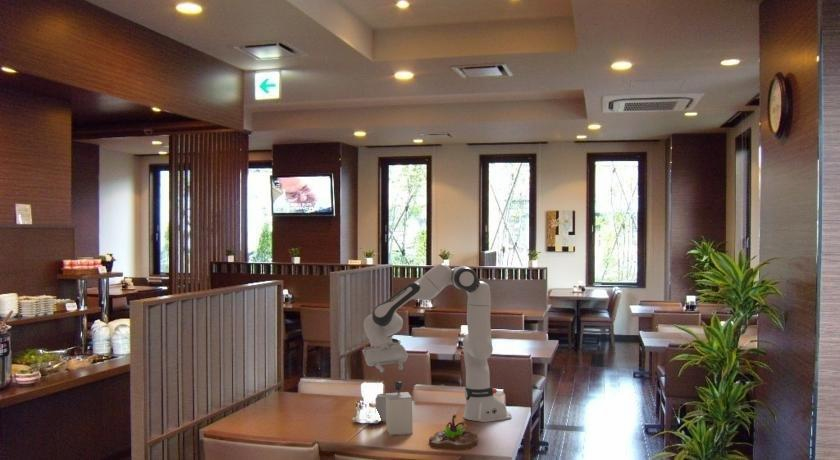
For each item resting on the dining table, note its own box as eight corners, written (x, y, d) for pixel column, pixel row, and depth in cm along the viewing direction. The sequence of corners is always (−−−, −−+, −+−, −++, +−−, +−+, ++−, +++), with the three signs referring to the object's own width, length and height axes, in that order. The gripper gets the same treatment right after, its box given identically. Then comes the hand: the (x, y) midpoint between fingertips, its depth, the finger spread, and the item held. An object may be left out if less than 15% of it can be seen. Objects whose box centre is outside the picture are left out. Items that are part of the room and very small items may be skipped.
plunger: (406, 426, 305) (405, 379, 305) (409, 431, 297) (409, 383, 297) (388, 428, 303) (388, 380, 303) (391, 433, 295) (390, 384, 295)
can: (389, 422, 314) (389, 396, 315) (374, 422, 316) (373, 396, 316) (393, 418, 322) (393, 393, 322) (378, 417, 323) (377, 392, 323)
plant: (482, 437, 291) (482, 411, 291) (472, 451, 272) (471, 423, 272) (437, 434, 297) (437, 408, 297) (424, 448, 278) (423, 420, 278)
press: (408, 427, 306) (407, 392, 306) (412, 434, 296) (412, 397, 296) (386, 429, 304) (385, 393, 304) (389, 435, 294) (389, 398, 294)
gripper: (363, 343, 306) (373, 369, 298) (402, 339, 317) (414, 363, 308) (358, 352, 310) (369, 377, 301) (398, 347, 320) (409, 372, 312)
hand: (392, 370), depth 305 cm, fingers open, 8 cm apart
